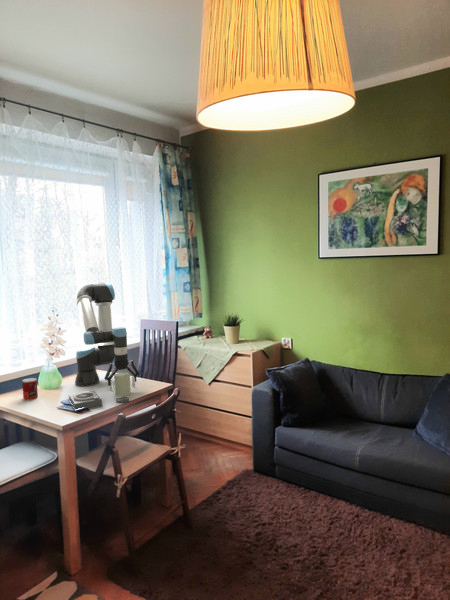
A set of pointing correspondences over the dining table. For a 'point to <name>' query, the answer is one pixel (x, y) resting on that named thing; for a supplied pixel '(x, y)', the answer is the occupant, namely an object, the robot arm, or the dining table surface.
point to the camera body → (86, 400)
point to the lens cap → (123, 400)
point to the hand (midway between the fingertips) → (122, 389)
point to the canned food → (30, 388)
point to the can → (122, 384)
